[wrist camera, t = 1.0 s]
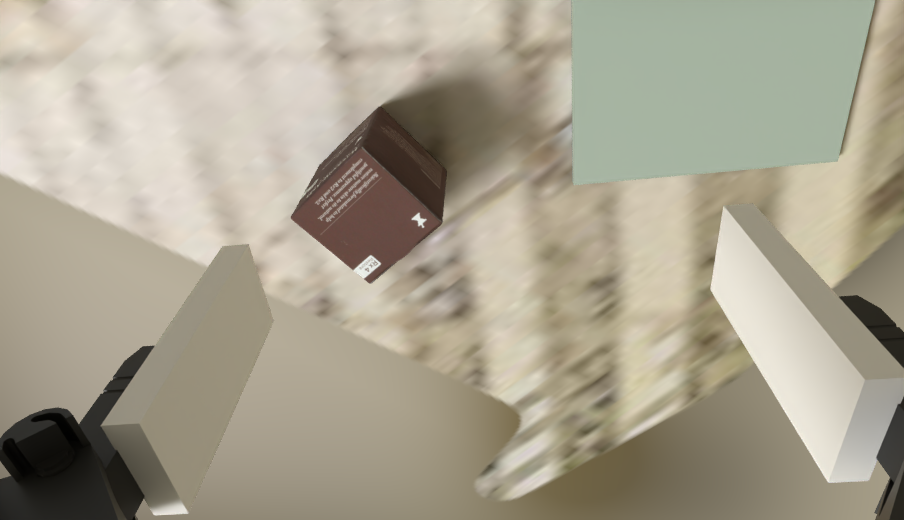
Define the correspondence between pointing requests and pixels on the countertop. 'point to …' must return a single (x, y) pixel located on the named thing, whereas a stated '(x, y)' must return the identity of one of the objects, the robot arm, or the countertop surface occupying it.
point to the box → (374, 197)
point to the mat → (711, 84)
